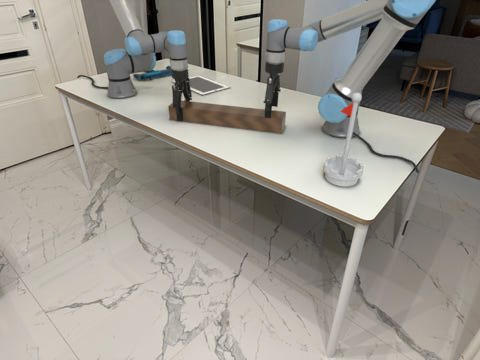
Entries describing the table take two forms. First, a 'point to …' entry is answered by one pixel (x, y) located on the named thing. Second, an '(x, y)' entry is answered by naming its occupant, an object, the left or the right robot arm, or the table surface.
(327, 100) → the right robot arm
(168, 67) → the submachine gun
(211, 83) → the tablet
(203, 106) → the slab
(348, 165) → the flag stand
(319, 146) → the table surface
